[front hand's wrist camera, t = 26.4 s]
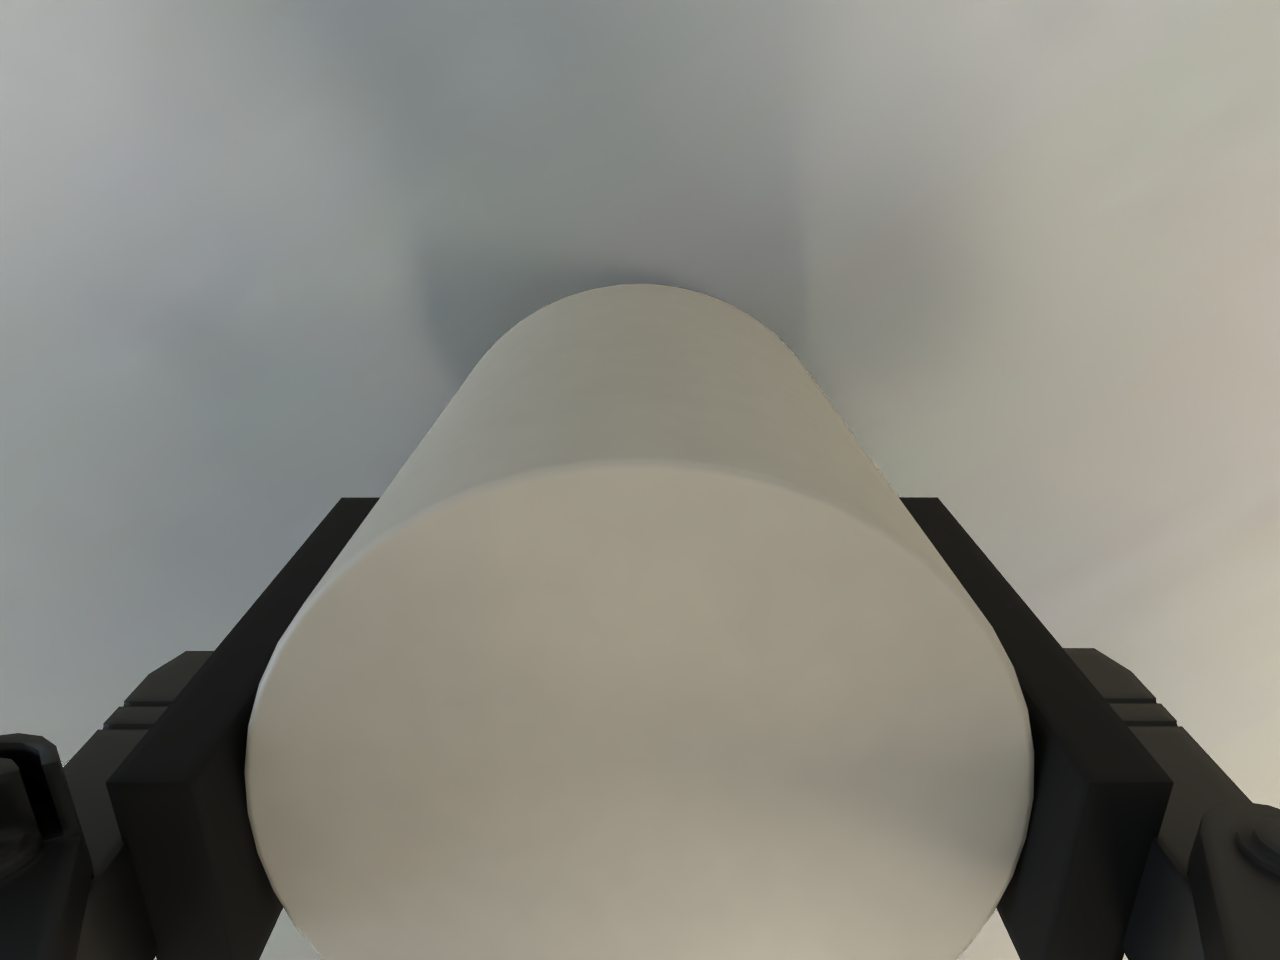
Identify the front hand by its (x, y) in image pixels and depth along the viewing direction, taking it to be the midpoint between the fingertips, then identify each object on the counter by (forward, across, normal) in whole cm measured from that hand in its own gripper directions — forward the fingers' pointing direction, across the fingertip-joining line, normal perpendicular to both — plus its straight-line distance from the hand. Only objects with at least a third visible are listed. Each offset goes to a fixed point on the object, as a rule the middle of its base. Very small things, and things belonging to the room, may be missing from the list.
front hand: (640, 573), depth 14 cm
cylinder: (+4, 0, 0) cm, 4 cm away
